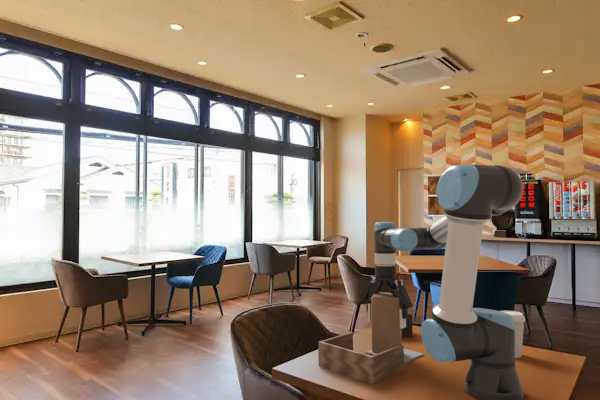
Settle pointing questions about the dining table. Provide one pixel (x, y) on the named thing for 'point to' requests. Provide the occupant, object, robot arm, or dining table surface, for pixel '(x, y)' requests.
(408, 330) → the dark statue on base
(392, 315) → the block
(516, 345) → the coffee cup
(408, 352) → the mat
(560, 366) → the dining table surface
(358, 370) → the bracket
